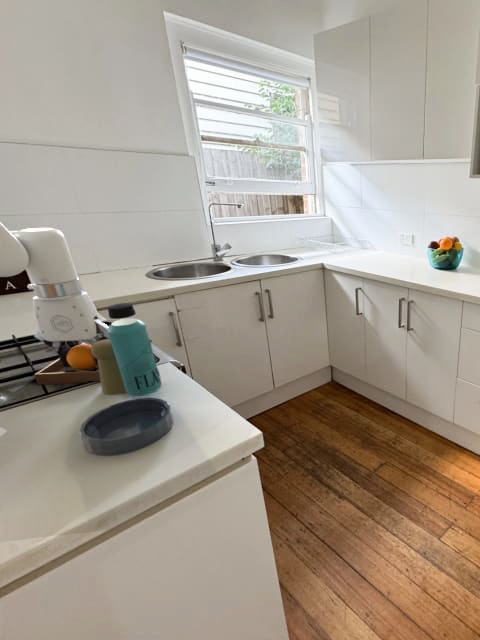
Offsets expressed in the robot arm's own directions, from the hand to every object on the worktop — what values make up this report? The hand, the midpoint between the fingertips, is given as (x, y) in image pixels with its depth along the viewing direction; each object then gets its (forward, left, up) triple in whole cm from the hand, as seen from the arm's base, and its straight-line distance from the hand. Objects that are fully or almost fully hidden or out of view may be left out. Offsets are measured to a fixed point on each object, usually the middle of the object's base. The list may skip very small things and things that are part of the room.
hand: (86, 362), depth 89 cm
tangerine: (0, 0, +1) cm, 1 cm away
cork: (+11, -9, -2) cm, 14 cm away
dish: (+21, -26, -2) cm, 34 cm away
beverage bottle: (+18, -13, -2) cm, 22 cm away
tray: (0, 0, -2) cm, 2 cm away
